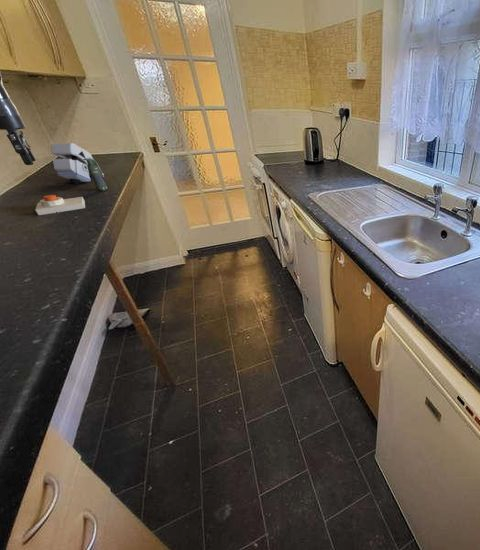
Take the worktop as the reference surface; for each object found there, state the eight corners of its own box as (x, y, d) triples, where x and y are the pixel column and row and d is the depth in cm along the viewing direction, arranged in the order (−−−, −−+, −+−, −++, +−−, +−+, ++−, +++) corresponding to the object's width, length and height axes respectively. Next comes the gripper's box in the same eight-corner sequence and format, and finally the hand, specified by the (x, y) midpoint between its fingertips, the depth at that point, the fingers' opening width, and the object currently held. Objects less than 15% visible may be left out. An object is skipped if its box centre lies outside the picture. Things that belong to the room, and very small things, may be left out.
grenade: (102, 192, 142) (87, 159, 134) (95, 191, 142) (80, 158, 135) (111, 189, 145) (97, 157, 138) (104, 189, 146) (89, 156, 138)
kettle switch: (45, 202, 116) (42, 198, 116) (45, 200, 119) (43, 195, 118) (57, 200, 118) (55, 196, 118) (58, 198, 121) (55, 194, 120)
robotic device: (105, 192, 166) (103, 157, 167) (73, 177, 145) (71, 138, 146) (84, 193, 164) (83, 158, 165) (49, 178, 143) (47, 138, 144)
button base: (38, 215, 114) (32, 205, 112) (40, 207, 121) (35, 198, 119) (85, 208, 122) (80, 198, 120) (84, 201, 129) (80, 192, 127)
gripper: (-8, 112, 105) (19, 161, 114) (-17, 115, 96) (14, 167, 104) (21, 112, 109) (46, 159, 118) (16, 114, 100) (43, 165, 108)
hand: (31, 162), depth 111 cm, fingers open, 7 cm apart
